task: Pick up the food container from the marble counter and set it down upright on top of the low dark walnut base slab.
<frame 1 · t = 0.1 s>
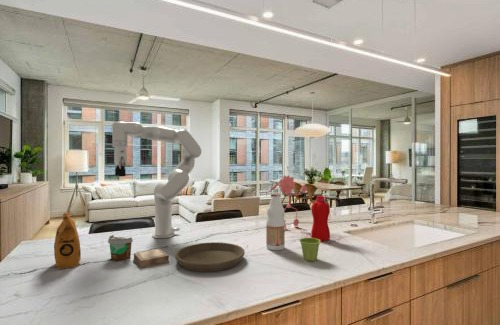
hand: (120, 175, 159), 37 cm above the worktop, tool pointing down, fingers open, 9 cm apart
figurine: (287, 227, 195), on the worktop
food container: (117, 259, 133), on the worktop
plant saucer: (210, 261, 132), on the worktop
water bottle: (321, 240, 165), on the worktop
fruit juice: (275, 248, 150), on the worktop
base: (151, 260, 131), on the worktop
plant pot: (310, 259, 133), on the worktop
coffee package: (67, 264, 127), on the worktop
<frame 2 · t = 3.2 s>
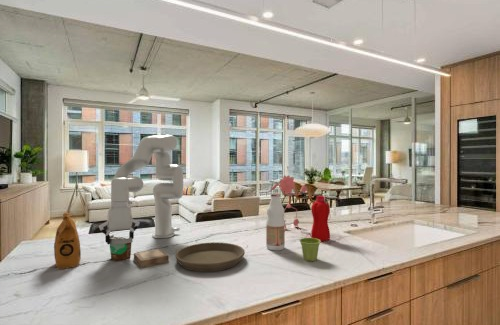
hand: (119, 242, 133), 8 cm above the worktop, tool pointing down, fingers open, 9 cm apart
food container: (117, 259, 133), on the worktop, touching gripper
everything else where it was.
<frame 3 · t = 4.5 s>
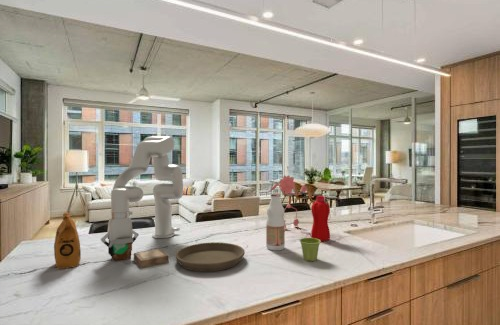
hand: (120, 253, 134), 2 cm above the worktop, tool pointing down, fingers closed on food container, 7 cm apart
food container: (117, 259, 133), on the worktop, touching gripper
everything else where it was.
when the fingers open (7 cm above the worktop, at t = 10.1 s): food container stays where it is, resting on base.
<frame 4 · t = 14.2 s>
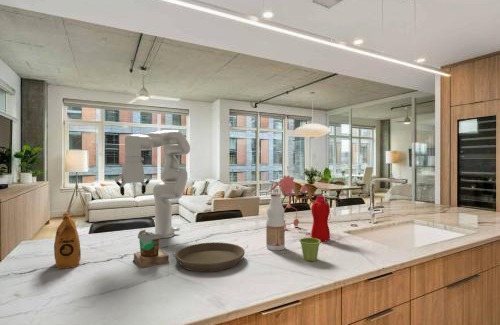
hand: (133, 194, 144), 28 cm above the worktop, tool pointing down, fingers open, 9 cm apart
food container: (146, 255, 129), point 3 cm above the worktop, touching base
everything else where it was.
at the end: food container inside the target area on the base (2.5 cm from its centre), point 3.0 cm above the base's base; food container tilted 0°; the gripper is holding nothing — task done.
